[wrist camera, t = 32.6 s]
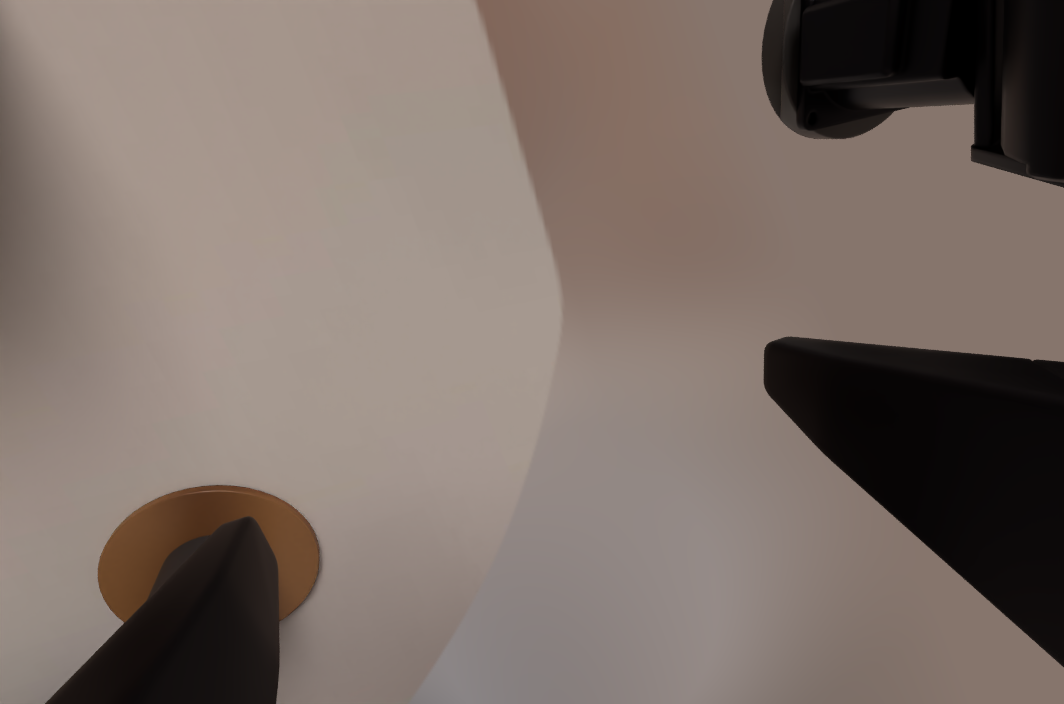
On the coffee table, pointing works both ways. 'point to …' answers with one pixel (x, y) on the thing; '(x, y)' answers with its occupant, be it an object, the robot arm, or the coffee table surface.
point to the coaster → (196, 514)
